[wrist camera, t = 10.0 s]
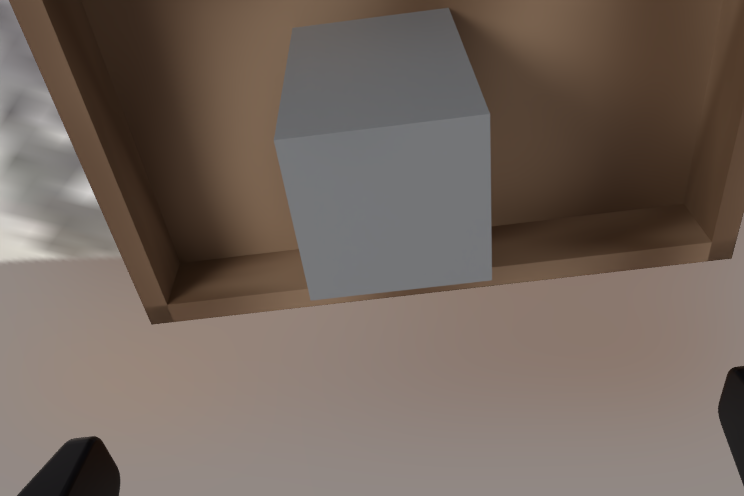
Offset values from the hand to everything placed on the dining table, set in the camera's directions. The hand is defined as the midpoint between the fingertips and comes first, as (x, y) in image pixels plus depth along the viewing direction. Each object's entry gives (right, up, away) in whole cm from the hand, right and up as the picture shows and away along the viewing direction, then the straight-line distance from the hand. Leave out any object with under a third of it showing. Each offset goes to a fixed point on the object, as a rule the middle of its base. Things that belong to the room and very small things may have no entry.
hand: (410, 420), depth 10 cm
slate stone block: (0, +7, +9) cm, 11 cm away
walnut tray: (+1, +7, +9) cm, 12 cm away
